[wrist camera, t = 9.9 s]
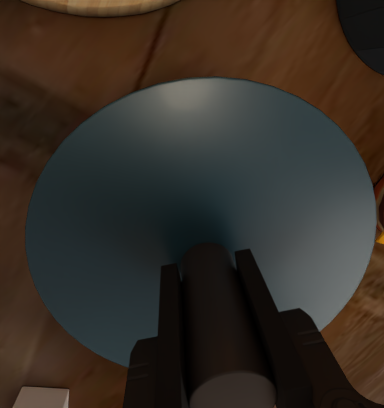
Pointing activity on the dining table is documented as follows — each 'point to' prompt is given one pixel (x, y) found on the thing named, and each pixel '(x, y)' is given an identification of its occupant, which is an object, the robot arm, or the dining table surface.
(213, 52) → the dining table surface
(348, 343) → the dining table surface
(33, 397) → the milk
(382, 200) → the hamburger
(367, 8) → the blue pot
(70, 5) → the wooden plate
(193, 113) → the lid
